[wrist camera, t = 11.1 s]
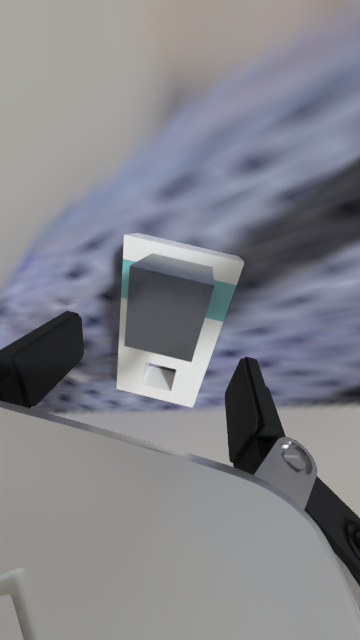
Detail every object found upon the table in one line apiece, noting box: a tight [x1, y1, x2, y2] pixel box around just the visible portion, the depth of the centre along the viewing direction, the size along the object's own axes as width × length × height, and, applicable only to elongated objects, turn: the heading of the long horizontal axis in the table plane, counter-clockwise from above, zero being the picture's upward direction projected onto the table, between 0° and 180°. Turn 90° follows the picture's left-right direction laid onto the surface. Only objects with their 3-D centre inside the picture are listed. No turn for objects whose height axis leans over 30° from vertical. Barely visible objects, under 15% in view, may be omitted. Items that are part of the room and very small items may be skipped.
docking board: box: [117, 233, 245, 408], centre depth 25 cm, size 22×12×4 cm, turn 169°
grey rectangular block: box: [124, 253, 215, 362], centre depth 19 cm, size 6×7×10 cm
